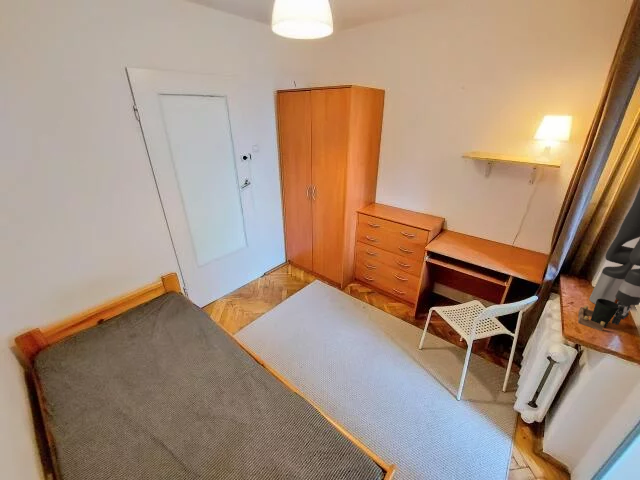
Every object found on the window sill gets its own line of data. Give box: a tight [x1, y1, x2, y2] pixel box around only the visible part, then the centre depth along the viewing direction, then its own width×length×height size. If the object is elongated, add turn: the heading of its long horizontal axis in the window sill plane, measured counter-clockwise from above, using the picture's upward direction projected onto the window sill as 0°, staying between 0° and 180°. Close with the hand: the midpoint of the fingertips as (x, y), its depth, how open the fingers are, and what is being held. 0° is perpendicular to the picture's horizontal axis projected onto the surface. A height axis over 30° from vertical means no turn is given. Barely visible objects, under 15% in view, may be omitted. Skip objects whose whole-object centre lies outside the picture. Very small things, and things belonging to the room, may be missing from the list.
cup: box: [589, 299, 618, 329], centre depth 129 cm, size 8×8×12 cm
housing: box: [577, 305, 605, 332], centre depth 133 cm, size 13×8×4 cm, turn 138°
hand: (614, 323), depth 127 cm, fingers closed
